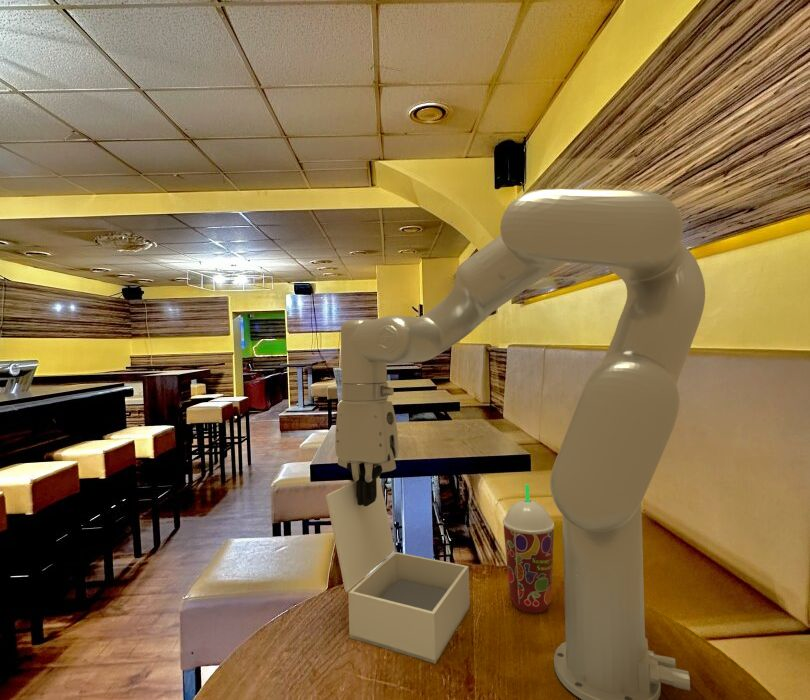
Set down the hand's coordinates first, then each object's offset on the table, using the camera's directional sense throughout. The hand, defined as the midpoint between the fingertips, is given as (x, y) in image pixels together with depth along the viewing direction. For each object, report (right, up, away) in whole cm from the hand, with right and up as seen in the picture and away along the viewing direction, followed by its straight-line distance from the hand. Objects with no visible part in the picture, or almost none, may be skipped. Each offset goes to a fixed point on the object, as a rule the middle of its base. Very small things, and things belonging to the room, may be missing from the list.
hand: (366, 503), depth 75 cm
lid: (0, -4, 0) cm, 4 cm away
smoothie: (+28, -17, 0) cm, 32 cm away
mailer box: (+8, -18, -4) cm, 20 cm away
